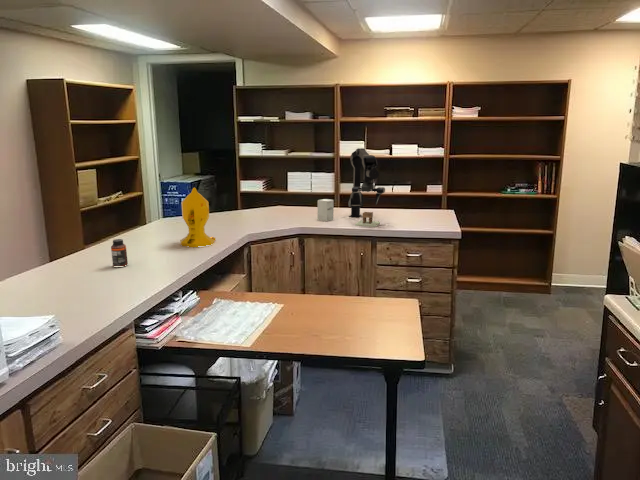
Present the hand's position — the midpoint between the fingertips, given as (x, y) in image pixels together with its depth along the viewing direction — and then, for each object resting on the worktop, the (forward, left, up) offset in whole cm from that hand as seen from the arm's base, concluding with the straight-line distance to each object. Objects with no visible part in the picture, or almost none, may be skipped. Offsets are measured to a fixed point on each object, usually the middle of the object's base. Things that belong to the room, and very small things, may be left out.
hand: (368, 204), depth 304 cm
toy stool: (0, 0, -11) cm, 11 cm away
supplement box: (-5, -28, -12) cm, 31 cm away
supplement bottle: (+122, -77, -12) cm, 145 cm away
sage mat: (0, 0, -12) cm, 12 cm away
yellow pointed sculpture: (+75, -68, -12) cm, 102 cm away
